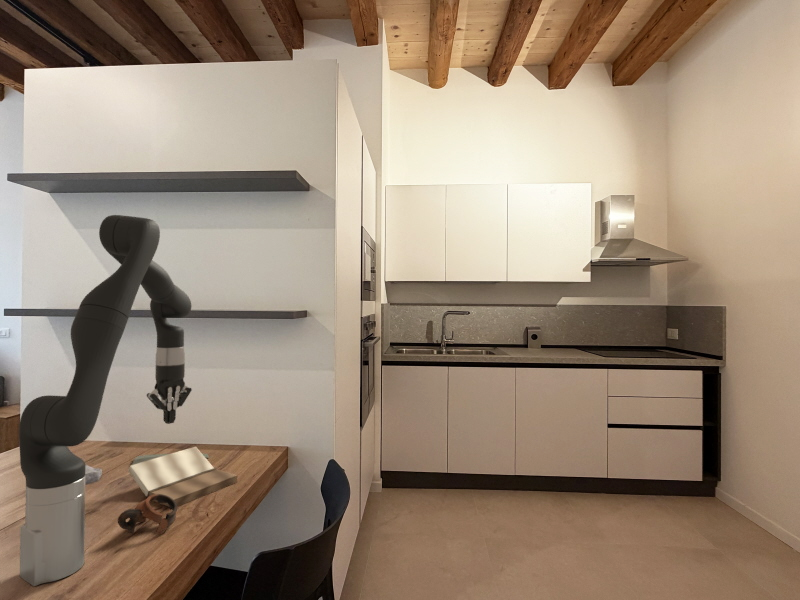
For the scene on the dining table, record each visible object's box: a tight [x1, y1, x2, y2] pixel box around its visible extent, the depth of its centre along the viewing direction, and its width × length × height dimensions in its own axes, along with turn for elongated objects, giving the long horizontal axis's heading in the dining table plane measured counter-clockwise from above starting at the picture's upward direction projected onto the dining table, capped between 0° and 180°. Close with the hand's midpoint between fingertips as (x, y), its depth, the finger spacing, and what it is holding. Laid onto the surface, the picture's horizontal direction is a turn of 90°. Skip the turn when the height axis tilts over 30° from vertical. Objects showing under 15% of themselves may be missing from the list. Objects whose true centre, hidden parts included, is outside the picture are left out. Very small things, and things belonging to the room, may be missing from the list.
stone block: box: [85, 464, 103, 486], centre depth 134 cm, size 12×5×10 cm
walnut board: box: [148, 467, 238, 508], centre depth 127 cm, size 20×10×2 cm, turn 149°
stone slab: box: [131, 452, 210, 465], centre depth 153 cm, size 22×3×10 cm
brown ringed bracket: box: [117, 494, 178, 535], centre depth 105 cm, size 12×10×8 cm
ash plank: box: [128, 446, 215, 498], centre depth 133 cm, size 20×10×2 cm, turn 149°
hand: (169, 422), depth 134 cm, fingers closed
